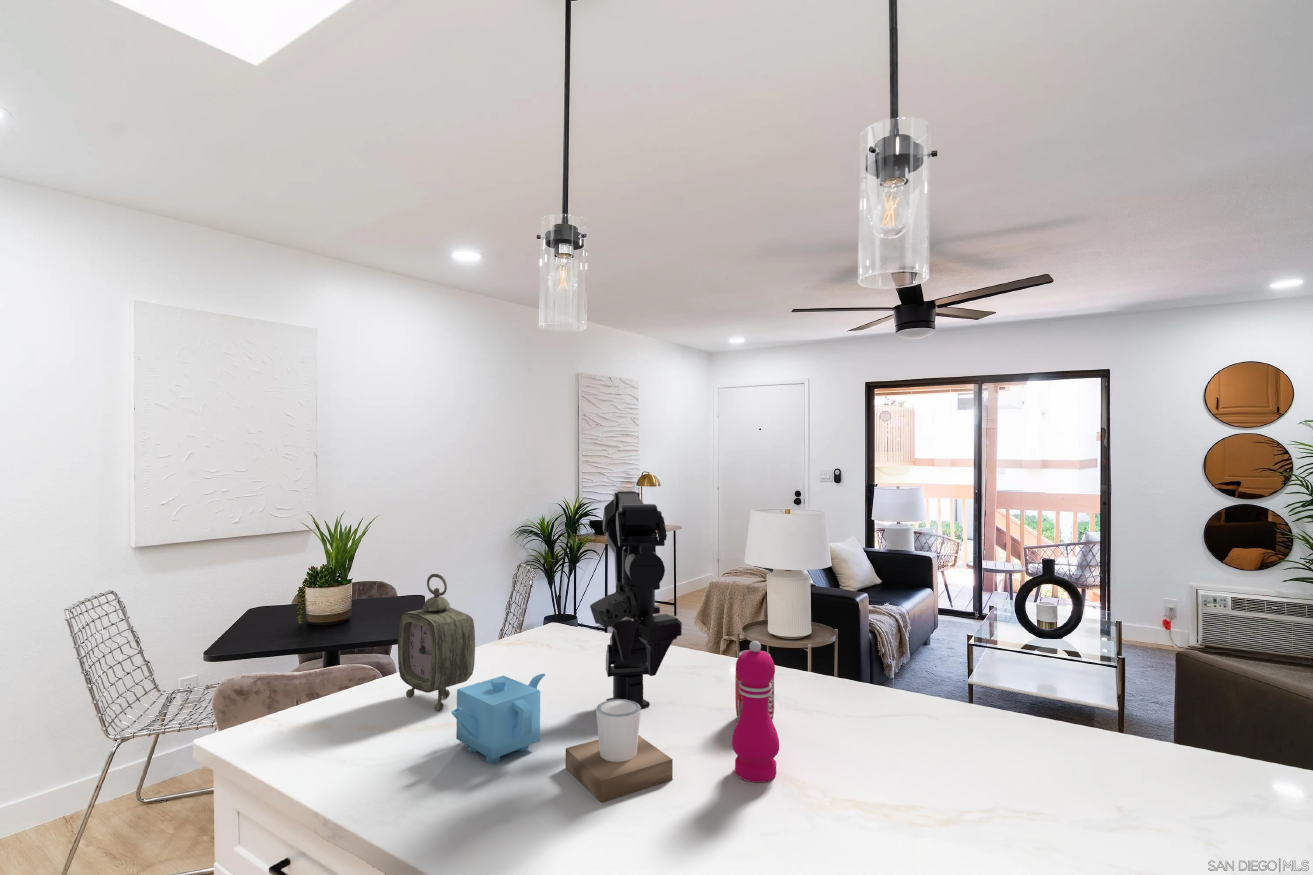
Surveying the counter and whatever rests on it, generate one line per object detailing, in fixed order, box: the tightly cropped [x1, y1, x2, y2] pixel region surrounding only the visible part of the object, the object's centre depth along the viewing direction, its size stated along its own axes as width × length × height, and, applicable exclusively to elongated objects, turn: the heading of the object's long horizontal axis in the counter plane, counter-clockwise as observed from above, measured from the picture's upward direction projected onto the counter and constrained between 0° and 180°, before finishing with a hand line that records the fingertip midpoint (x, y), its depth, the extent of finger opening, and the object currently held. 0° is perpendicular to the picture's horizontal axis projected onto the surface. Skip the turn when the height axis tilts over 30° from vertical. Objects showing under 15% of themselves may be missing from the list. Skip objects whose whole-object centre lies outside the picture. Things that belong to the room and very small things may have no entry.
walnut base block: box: [565, 734, 674, 803], centre depth 98 cm, size 12×12×3 cm
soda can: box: [734, 649, 775, 720], centre depth 118 cm, size 7×7×12 cm
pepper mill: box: [731, 640, 780, 783], centre depth 99 cm, size 7×7×20 cm
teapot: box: [450, 673, 546, 764], centre depth 107 cm, size 16×18×11 cm
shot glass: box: [595, 699, 642, 762], centre depth 98 cm, size 7×7×7 cm
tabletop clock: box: [397, 573, 476, 712], centre depth 128 cm, size 14×9×25 cm, turn 49°
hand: (638, 667), depth 111 cm, fingers open, 9 cm apart
